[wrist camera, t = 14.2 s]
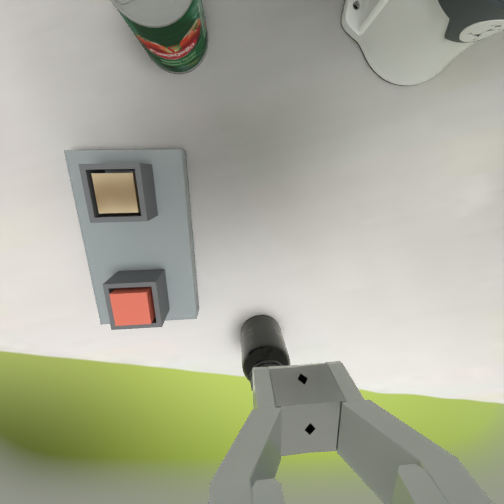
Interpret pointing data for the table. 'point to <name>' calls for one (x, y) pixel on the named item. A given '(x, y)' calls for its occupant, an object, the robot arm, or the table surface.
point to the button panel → (139, 231)
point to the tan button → (116, 192)
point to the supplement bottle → (262, 345)
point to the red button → (132, 306)
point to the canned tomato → (168, 31)
